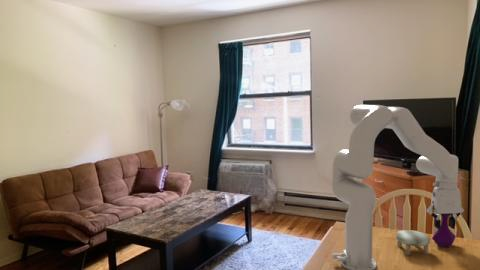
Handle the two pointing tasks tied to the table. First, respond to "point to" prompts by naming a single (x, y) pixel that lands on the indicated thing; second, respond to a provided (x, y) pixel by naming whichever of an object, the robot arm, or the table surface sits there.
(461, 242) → the table surface
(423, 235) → the stool
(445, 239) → the perfume bottle
